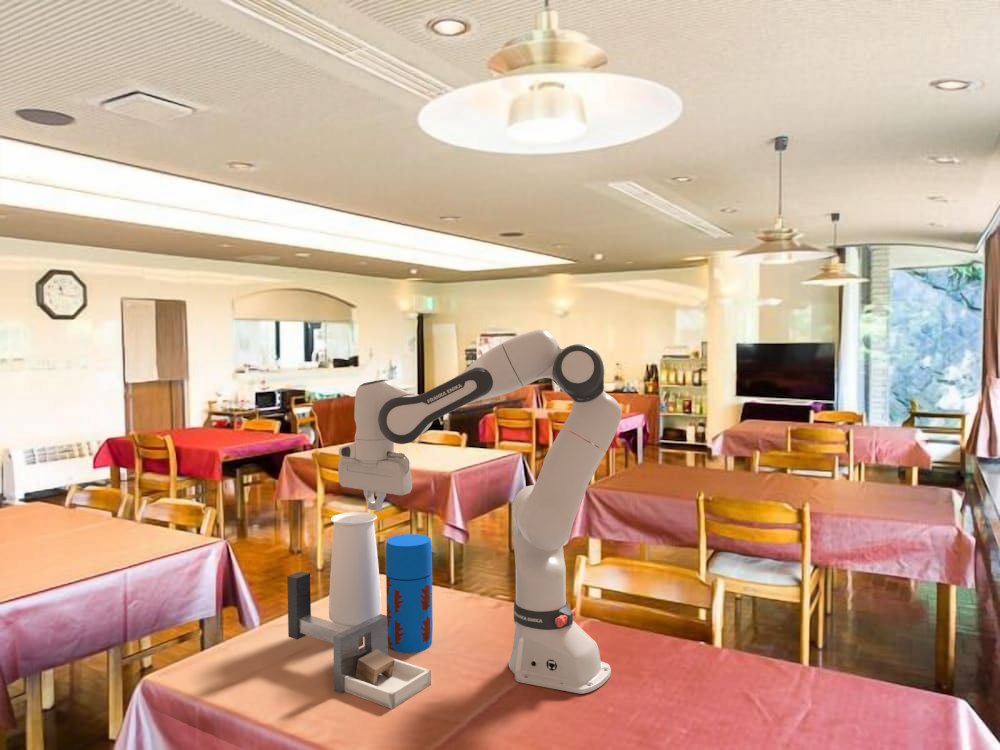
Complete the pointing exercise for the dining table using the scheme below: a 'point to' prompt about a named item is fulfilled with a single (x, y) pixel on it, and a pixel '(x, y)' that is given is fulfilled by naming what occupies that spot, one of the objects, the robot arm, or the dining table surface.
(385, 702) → the tray
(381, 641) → the bearing wall
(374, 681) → the block
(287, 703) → the dining table surface
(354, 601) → the vase
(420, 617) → the thermos
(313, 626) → the shaft
